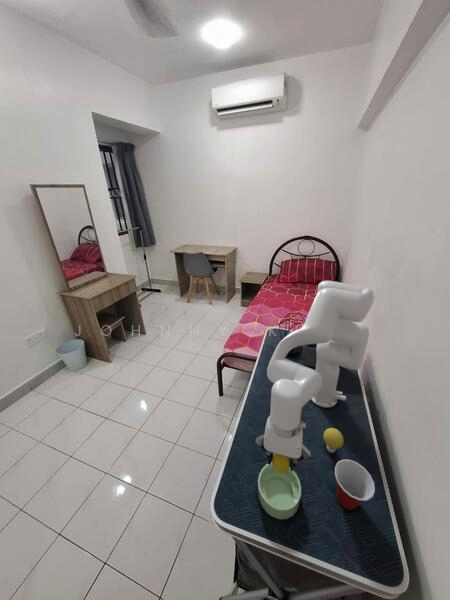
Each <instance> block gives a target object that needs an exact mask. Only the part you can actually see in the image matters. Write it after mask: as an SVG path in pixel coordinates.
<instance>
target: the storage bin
mask: <svg viewBox="0 0 450 600" xmlns="http://www.w3.org/2000/svg"><path fill="white" fill-rule="evenodd" d="M301 347H302V348H303V349H304V350H303V351H304V366H307V367H313V368H316V362H317V354H316V347H317V344H307V345H301Z"/></svg>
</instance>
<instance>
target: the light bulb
mask: <svg viewBox="0 0 450 600" xmlns="http://www.w3.org/2000/svg"><path fill="white" fill-rule="evenodd" d="M322 436H323V438H322V439H323V440H324V443H325V444H326V450H327V451H328V452H329V453H331V454H333V453H335V452H336V450H338V449H340V448H342V447H343V445H344V440H345V439H344V437H343V434H342V433H341V431H340V430H339V429H337V428H334V427H329V428H326V429H325V430H324V431H323V435H322Z"/></svg>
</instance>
